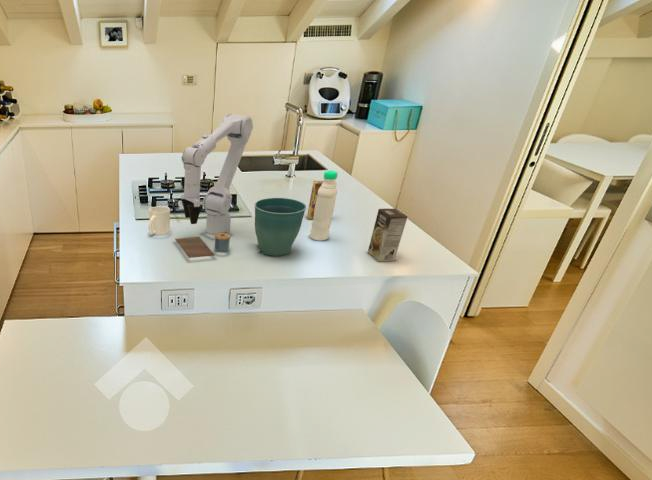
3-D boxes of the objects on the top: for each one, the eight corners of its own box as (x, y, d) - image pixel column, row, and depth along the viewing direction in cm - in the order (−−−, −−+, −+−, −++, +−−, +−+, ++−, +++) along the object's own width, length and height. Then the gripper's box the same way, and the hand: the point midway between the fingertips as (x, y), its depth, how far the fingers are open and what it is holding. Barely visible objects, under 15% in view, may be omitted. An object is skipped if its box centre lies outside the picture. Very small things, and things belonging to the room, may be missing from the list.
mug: (158, 242, 200) (158, 216, 194) (140, 238, 204) (140, 213, 197) (173, 233, 208) (173, 208, 202) (156, 229, 212) (156, 205, 206)
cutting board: (174, 242, 200) (174, 238, 199) (199, 240, 201) (199, 236, 200) (188, 261, 184) (188, 257, 183) (214, 259, 185) (215, 255, 184)
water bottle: (328, 235, 203) (341, 170, 188) (327, 241, 197) (341, 174, 183) (310, 234, 205) (321, 168, 190) (308, 240, 199) (320, 173, 185)
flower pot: (289, 263, 181) (296, 216, 171) (242, 254, 189) (246, 208, 179) (304, 247, 193) (312, 202, 183) (260, 239, 201) (265, 195, 191)
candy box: (308, 219, 219) (314, 183, 210) (306, 216, 222) (312, 180, 213) (329, 219, 218) (336, 183, 209) (327, 216, 222) (334, 180, 213)
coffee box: (366, 252, 188) (377, 208, 179) (383, 251, 189) (395, 207, 179) (377, 261, 181) (390, 216, 171) (395, 261, 181) (408, 215, 172)
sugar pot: (222, 249, 193) (223, 229, 188) (231, 253, 189) (233, 234, 185) (210, 252, 191) (212, 232, 186) (220, 257, 187) (221, 237, 182)
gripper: (176, 179, 189) (175, 215, 197) (187, 189, 178) (185, 227, 186) (194, 177, 190) (193, 214, 198) (206, 187, 179) (204, 226, 187)
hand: (190, 220), depth 192 cm, fingers open, 7 cm apart
